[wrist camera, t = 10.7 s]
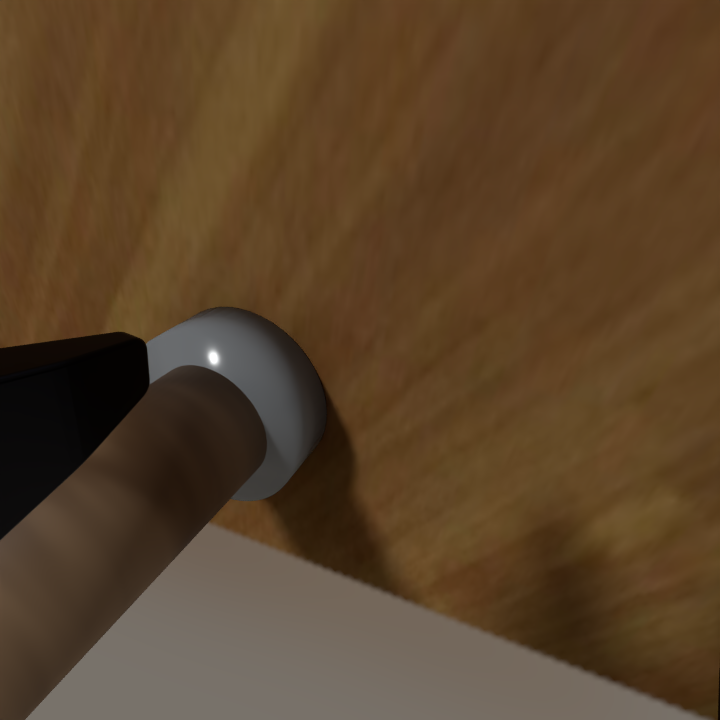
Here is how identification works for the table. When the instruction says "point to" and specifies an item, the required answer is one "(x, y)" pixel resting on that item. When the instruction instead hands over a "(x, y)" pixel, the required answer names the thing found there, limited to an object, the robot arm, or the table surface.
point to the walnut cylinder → (118, 526)
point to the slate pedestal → (253, 384)
